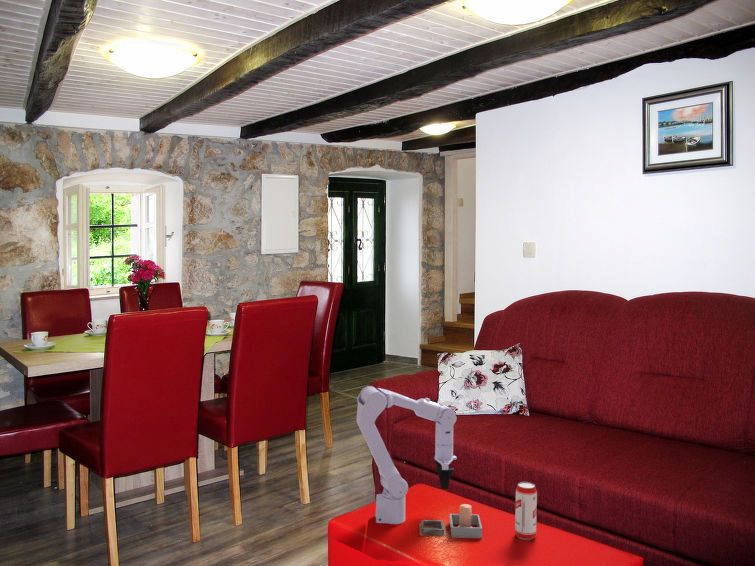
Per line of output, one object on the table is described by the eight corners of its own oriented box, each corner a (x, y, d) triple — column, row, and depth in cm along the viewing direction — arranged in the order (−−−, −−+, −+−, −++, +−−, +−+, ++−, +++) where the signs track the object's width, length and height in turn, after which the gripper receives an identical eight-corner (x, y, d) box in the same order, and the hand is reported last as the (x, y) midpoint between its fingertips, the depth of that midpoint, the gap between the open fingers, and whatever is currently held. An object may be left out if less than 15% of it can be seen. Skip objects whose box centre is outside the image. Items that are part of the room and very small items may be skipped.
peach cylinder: (473, 535, 202) (473, 509, 201) (458, 535, 202) (458, 509, 201) (471, 529, 206) (472, 503, 205) (457, 528, 206) (457, 503, 206)
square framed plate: (419, 538, 201) (419, 530, 200) (419, 526, 209) (419, 519, 208) (446, 539, 200) (446, 530, 200) (444, 527, 208) (445, 519, 208)
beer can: (534, 532, 205) (535, 481, 204) (537, 541, 199) (538, 489, 198) (513, 531, 206) (514, 480, 204) (516, 540, 199) (517, 488, 198)
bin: (451, 540, 199) (451, 527, 199) (449, 526, 209) (449, 513, 209) (482, 541, 199) (482, 528, 198) (478, 527, 209) (478, 514, 208)
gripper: (458, 450, 208) (457, 493, 209) (455, 436, 223) (454, 476, 224) (435, 449, 209) (435, 492, 209) (433, 436, 223) (433, 476, 224)
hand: (443, 484), depth 217 cm, fingers open, 7 cm apart
